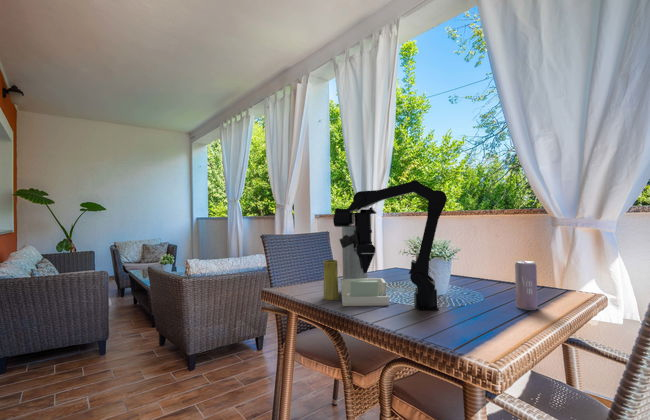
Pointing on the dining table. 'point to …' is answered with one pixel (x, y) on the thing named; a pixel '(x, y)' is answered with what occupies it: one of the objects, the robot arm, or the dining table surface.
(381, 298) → the cabinet
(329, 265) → the vase
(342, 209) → the robot arm
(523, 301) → the beverage can
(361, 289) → the door
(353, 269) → the planter
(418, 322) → the dining table surface
